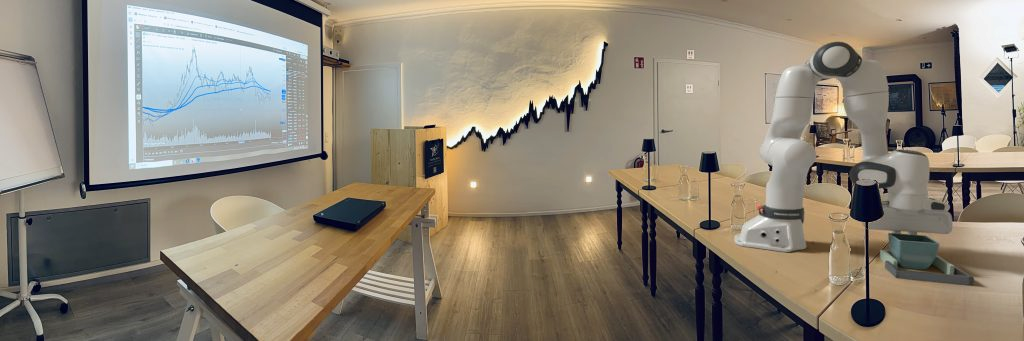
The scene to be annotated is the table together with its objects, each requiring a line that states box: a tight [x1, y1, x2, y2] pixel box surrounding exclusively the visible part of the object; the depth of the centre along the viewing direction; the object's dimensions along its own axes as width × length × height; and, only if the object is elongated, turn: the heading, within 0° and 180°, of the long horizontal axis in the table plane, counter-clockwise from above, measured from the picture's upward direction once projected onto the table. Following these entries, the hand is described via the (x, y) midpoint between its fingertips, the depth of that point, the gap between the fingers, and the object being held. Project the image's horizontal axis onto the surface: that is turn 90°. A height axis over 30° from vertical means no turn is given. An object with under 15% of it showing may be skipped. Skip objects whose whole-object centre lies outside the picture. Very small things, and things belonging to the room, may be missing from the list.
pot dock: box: [884, 261, 974, 287], centre depth 111 cm, size 15×8×2 cm, turn 63°
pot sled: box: [879, 249, 955, 275], centre depth 118 cm, size 13×13×6 cm
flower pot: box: [887, 232, 940, 270], centre depth 118 cm, size 9×9×9 cm
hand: (903, 244), depth 124 cm, fingers closed
